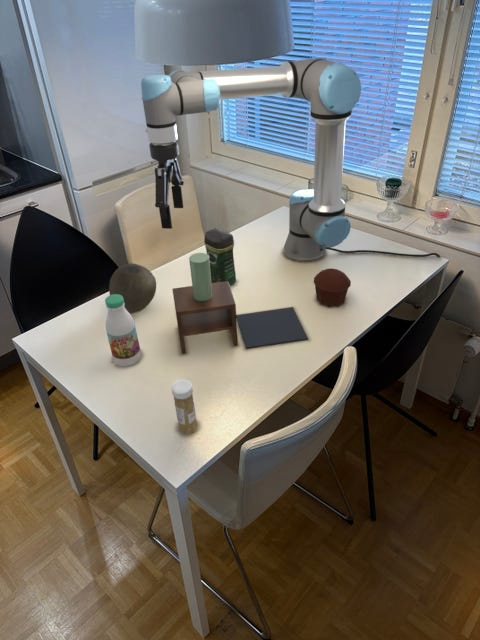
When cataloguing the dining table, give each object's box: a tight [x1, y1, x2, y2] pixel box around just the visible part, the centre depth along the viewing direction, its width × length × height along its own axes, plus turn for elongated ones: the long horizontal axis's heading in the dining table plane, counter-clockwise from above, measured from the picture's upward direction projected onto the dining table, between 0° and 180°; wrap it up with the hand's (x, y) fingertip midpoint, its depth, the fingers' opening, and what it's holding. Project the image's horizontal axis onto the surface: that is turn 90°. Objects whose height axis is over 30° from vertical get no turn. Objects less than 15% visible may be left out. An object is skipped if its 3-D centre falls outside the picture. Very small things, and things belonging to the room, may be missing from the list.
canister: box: [188, 252, 213, 301], centre depth 131 cm, size 5×5×12 cm
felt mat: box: [236, 306, 309, 350], centre depth 146 cm, size 18×16×1 cm
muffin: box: [312, 267, 352, 308], centre depth 154 cm, size 12×11×10 cm
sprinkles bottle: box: [171, 379, 199, 435], centre depth 112 cm, size 5×5×14 cm
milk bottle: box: [104, 294, 142, 367], centre depth 131 cm, size 8×8×20 cm
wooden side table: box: [171, 281, 239, 355], centre depth 139 cm, size 16×12×14 cm
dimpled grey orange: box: [108, 263, 157, 314], centre depth 152 cm, size 14×14×15 cm
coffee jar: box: [203, 227, 237, 287], centre depth 162 cm, size 10×8×19 cm
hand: (173, 217), depth 141 cm, fingers open, 13 cm apart
